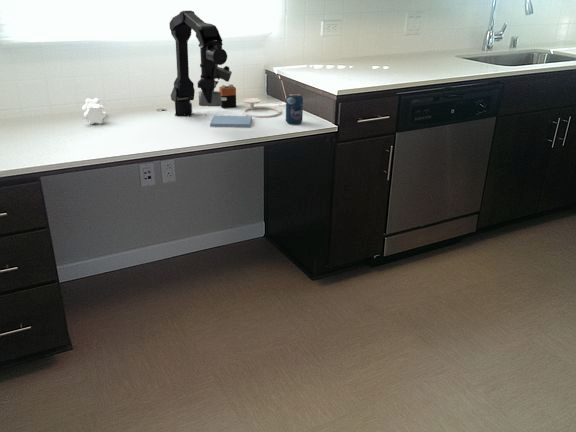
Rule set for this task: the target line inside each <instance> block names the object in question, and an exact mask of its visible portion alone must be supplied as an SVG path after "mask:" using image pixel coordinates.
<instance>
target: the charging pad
mask: <svg viewBox="0 0 576 432" xmlns="http://www.w3.org/2000/svg"><path fill="white" fill-rule="evenodd" d="M252 118H253V117H252V116H247V115H213V117H212V119H211V122H210V124H209V125H210V127H211V128H212V127H213V128H215V127H218V128H251V124H252V120H253V119H252Z"/></svg>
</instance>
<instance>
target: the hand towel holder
mask: <svg viewBox="0 0 576 432" xmlns="http://www.w3.org/2000/svg"><path fill="white" fill-rule="evenodd" d="M242 101H243V102H244V103H245V104H250V107H247V108H245V109H243V111H242V113H243V115H244V116H252V118H259V119H260V118H261V119H263V118H266V119H267V118H268V119H269V118H275V117H278V116H280V115H281V114H282V111H281V109H279V108H277V107H272V106H264V105H263V106H261V105H259V106H258V105H257V106H255V104H259V103H260V102H261V101H262V99H260V98H256V97H255V98H254V97H252V98H249V97H248V98H244V99H243V100H242ZM260 109H261V110H263V109H266V110H273V111H276V112H278V113H276V114H275V113H274V114H269V115H256V114H250V113H248V111H251V110H253V111H254V110H260Z"/></svg>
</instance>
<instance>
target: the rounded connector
mask: <svg viewBox="0 0 576 432" xmlns="http://www.w3.org/2000/svg"><path fill="white" fill-rule="evenodd" d="M197 93H198V105H199V106H200V107H221V101H226V100H227V99H226V98H222V97H221V92H219V91H217V90H214V91H212V99H211V103H208V102H207V100H206V98H205V96H204V94H203V92H202V90H200V91H198V92H197Z"/></svg>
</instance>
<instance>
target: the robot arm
mask: <svg viewBox="0 0 576 432" xmlns="http://www.w3.org/2000/svg"><path fill="white" fill-rule="evenodd" d="M168 24H169V30H170V32H171V36H172V37H173V39H174V40H175V52H176V53H175V55H176V73H177V75H176V76H177V77H176V78H175V80H174V82H173V88H172V91H171V93H170V99H171V101H172V102H174V107H175V110H174V112H175V114H174V116H175V117H179V116H180V117H185V116H186V117H189V116H191V115H192V114H193V103H192V102H191V101H194V99H195V92H196V91H195V88H194V87H195V86H194V85H195V84H194V82H193V81H192V80H191V79H190V74H189V73H190V69H189V49H188V47H189V46H188V42H189V40H190V38H191V35H192V31H193V32H195V37H196V39H197V41H198V47H199V48H200V64H199V67H200V71H201V72H200V73H201V74H200V79H199V80H198V81H197V88H198V89H201V90H200V91H202V92H203V94H204V96H205V98H206V100H207V102H208V103H211V99H212V91H215V89H216V87H217V86H218V83H219V80H220V79H221V80H223V81H225V82H230V79H231V76H232V73H233V72H232V71H231V70H230V67H229V66H227V65H225V66H224V67H222V65H224V64H226V62H227V60H228V53H227V52H226V50H225V49H224V48H223V45H224V44H223V39H222V36H221V34H220V32H219V30H218V28H217V26H216V25H214V24H213V23H209V22H205V21H204V20H203V19H201V18H200V17H199V16H198V15H197V14H195V12H194V11H193V10H182V11H180V12H179V13H178V14H177V15H175V16H173V17H172V18H171V19H170V21H169V23H168ZM219 66H221V67H219ZM216 79H217V80H218V81H217V80H216Z"/></svg>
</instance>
